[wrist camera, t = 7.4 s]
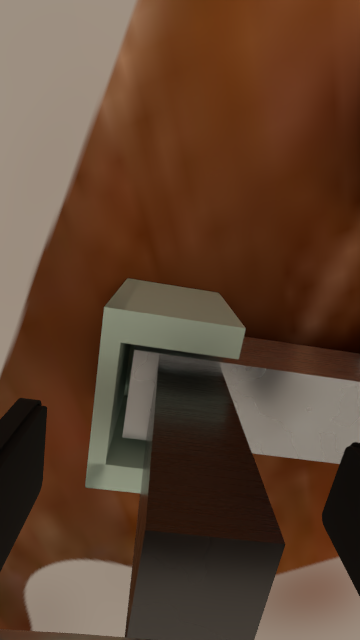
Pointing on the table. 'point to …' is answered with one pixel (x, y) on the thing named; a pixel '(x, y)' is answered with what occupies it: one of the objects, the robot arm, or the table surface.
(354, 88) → the table surface
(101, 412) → the sage socket
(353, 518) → the robot arm
